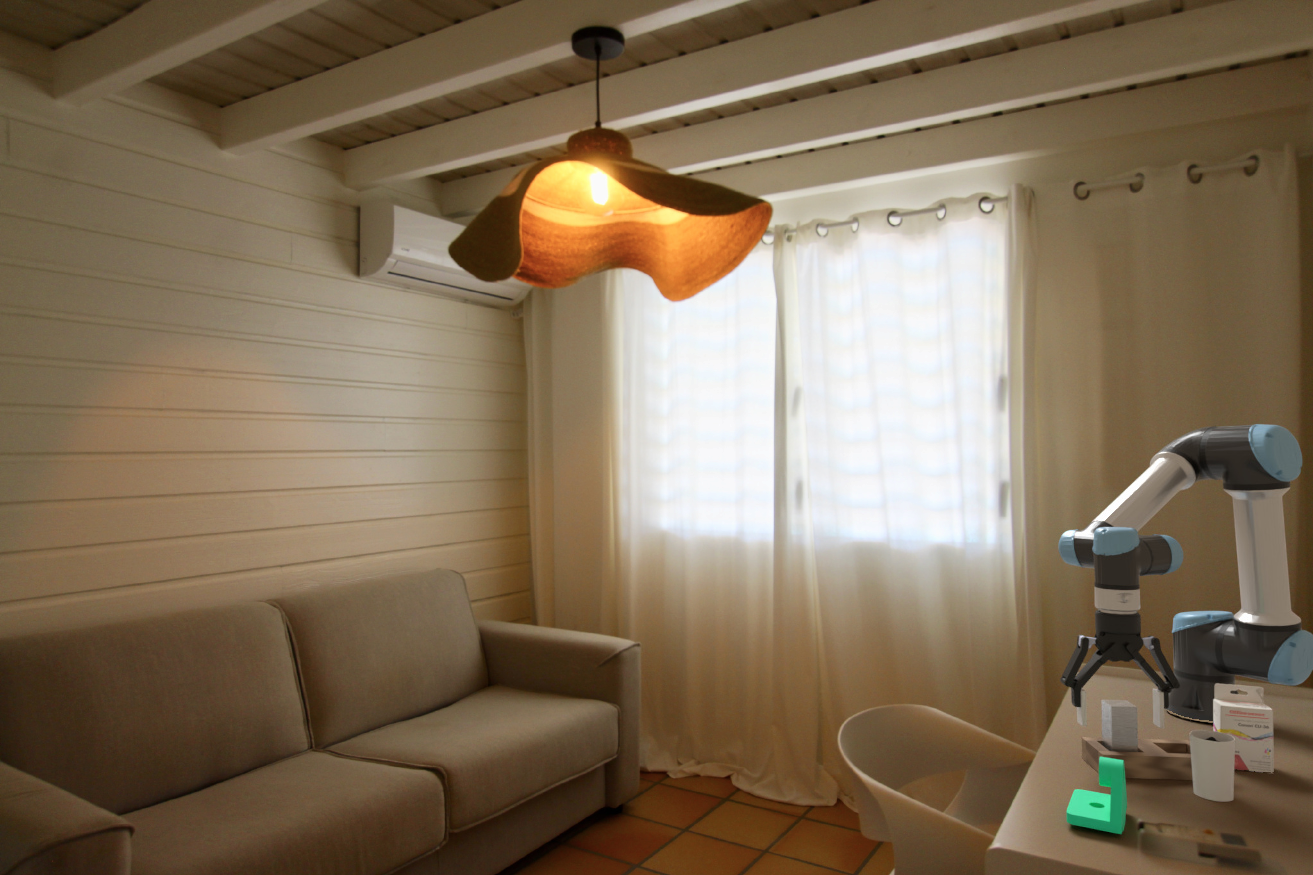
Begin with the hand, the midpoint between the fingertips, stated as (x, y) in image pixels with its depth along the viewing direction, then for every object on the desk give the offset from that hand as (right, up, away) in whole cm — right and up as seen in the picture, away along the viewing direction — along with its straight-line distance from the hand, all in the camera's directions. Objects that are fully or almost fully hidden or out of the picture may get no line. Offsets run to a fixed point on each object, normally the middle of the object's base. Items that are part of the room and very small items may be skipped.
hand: (1120, 725), depth 160 cm
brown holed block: (+5, -8, -1) cm, 9 cm away
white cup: (+9, -8, -13) cm, 18 cm away
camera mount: (-16, -8, -24) cm, 30 cm away
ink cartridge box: (+23, -8, 0) cm, 24 cm away
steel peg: (0, -8, 0) cm, 8 cm away
